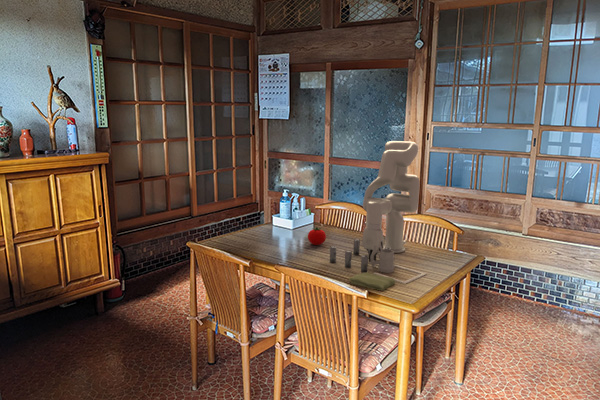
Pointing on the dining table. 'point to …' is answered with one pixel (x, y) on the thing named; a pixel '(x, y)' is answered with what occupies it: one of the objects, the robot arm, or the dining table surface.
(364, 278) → the washcloth
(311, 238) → the tomato
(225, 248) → the dining table surface
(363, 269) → the posts
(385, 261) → the mug
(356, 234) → the dining table surface
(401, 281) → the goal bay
